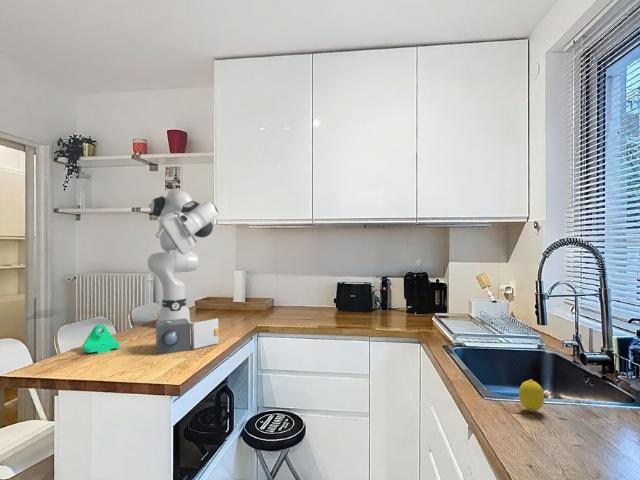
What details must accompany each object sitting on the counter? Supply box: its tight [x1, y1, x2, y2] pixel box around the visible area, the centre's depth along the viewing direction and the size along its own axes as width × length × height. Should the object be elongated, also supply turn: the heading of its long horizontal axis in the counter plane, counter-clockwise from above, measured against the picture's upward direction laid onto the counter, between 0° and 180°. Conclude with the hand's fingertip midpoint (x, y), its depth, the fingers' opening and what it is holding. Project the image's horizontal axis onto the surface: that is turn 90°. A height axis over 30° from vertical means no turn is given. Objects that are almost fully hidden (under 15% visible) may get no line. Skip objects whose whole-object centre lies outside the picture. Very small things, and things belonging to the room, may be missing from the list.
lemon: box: [518, 379, 545, 413], centre depth 99 cm, size 6×6×8 cm
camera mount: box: [82, 323, 121, 354], centre depth 162 cm, size 12×8×10 cm, turn 134°
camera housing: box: [155, 318, 191, 355], centre depth 162 cm, size 14×12×12 cm
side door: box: [190, 318, 220, 350], centre depth 165 cm, size 13×2×10 cm, turn 141°
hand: (162, 244), depth 175 cm, fingers open, 8 cm apart
